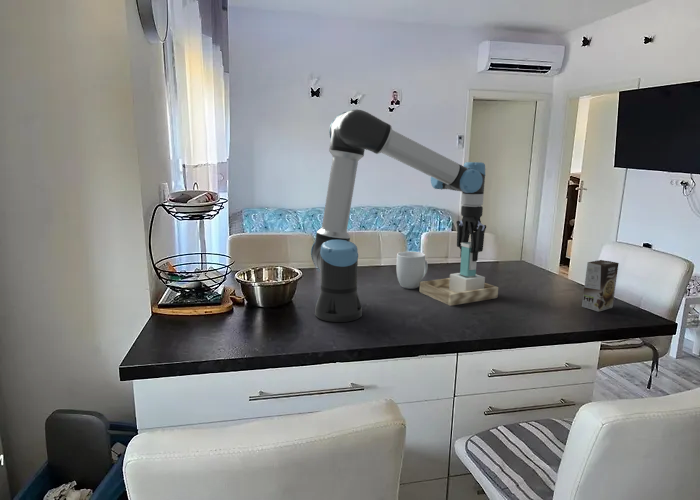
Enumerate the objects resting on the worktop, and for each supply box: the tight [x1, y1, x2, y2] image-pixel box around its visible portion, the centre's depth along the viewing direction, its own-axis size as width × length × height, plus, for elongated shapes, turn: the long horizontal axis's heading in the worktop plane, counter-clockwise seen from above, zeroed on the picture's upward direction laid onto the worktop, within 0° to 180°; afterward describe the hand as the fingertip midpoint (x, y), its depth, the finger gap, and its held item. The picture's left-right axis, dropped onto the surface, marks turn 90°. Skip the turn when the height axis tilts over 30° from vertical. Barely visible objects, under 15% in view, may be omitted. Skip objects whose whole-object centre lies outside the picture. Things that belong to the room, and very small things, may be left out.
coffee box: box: [581, 259, 620, 313], centre depth 163 cm, size 9×6×16 cm
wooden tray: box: [419, 277, 499, 307], centre depth 176 cm, size 22×18×4 cm
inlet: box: [449, 272, 486, 293], centre depth 177 cm, size 9×9×6 cm
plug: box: [459, 241, 477, 277], centre depth 175 cm, size 4×4×12 cm
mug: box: [395, 251, 429, 290], centre depth 186 cm, size 15×11×13 cm
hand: (468, 267), depth 176 cm, fingers closed on plug, 4 cm apart
